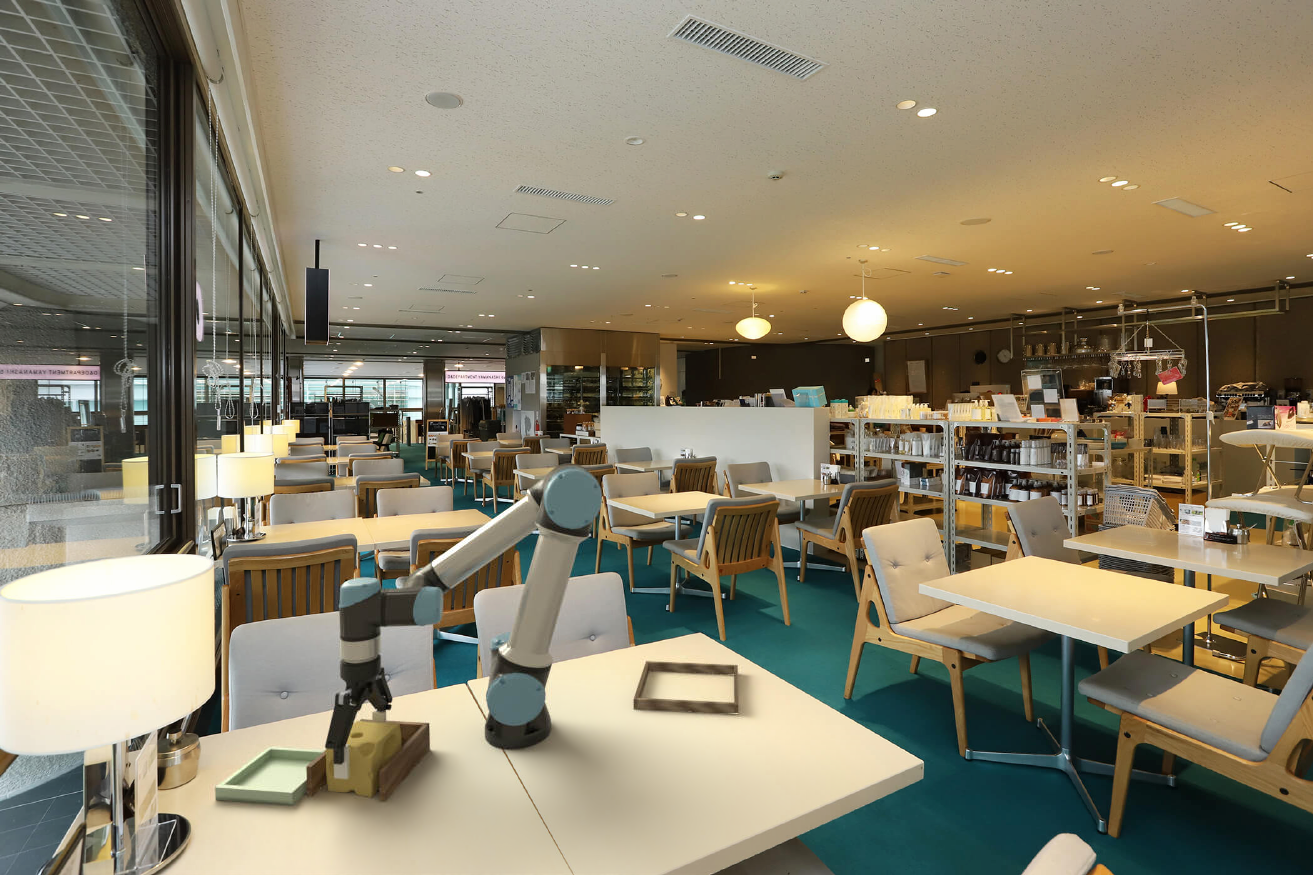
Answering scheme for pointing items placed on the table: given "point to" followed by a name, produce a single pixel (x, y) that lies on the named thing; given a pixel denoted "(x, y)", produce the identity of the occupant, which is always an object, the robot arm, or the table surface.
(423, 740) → the cubby
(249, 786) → the tray
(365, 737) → the cheese
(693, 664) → the frame
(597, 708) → the table surface
